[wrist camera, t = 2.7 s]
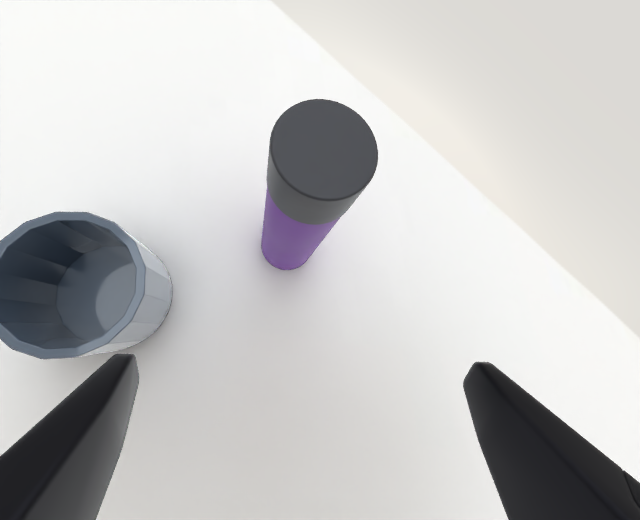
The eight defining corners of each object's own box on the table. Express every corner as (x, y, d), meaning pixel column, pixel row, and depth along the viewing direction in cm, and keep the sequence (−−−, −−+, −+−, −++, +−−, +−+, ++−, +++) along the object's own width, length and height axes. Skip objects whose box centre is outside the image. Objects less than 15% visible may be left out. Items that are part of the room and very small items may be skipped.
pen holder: (110, 374, 19) (56, 391, 14) (27, 297, 19) (-59, 285, 14) (195, 292, 21) (175, 279, 16) (119, 220, 21) (74, 183, 16)
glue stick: (287, 281, 22) (330, 223, 10) (249, 245, 22) (245, 143, 10) (322, 245, 23) (399, 151, 11) (285, 210, 23) (321, 78, 11)
